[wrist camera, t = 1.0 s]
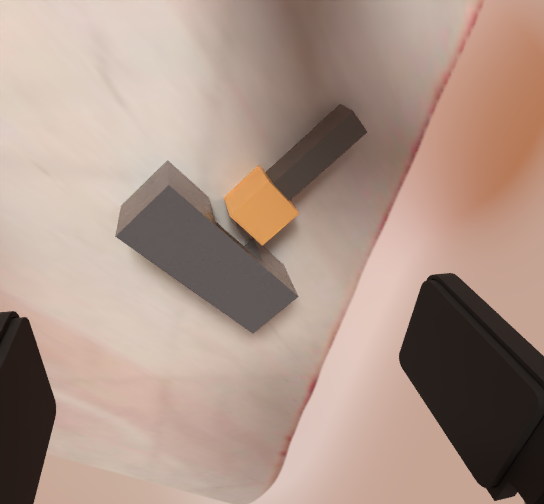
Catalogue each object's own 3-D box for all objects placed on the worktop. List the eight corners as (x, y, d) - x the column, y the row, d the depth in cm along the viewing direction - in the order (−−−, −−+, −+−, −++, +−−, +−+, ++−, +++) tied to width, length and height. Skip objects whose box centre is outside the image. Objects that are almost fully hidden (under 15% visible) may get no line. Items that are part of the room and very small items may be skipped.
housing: (167, 160, 35) (168, 184, 30) (283, 265, 43) (298, 296, 39) (121, 206, 36) (115, 236, 31) (243, 299, 45) (253, 333, 40)
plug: (334, 95, 35) (352, 105, 32) (359, 131, 37) (379, 144, 34) (223, 197, 38) (229, 216, 34) (253, 225, 40) (262, 245, 37)
